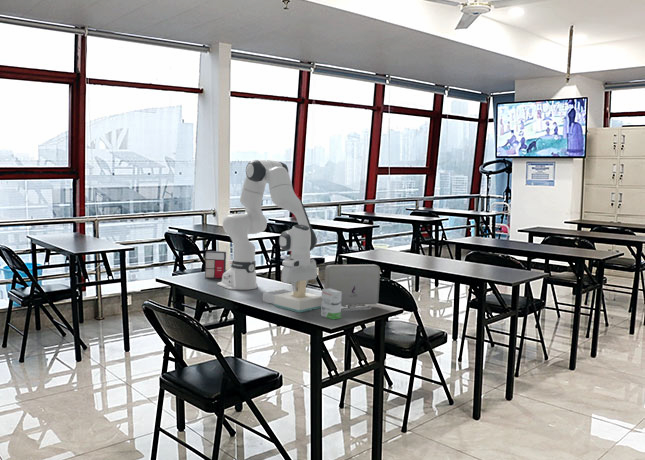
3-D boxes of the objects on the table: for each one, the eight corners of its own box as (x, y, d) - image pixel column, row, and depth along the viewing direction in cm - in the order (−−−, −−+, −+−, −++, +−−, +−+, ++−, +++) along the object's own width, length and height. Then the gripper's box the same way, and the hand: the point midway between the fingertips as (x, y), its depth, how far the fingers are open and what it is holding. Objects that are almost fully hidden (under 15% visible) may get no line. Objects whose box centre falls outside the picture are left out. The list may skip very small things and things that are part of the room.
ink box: (341, 318, 254) (342, 291, 253) (332, 319, 252) (333, 292, 250) (329, 314, 261) (330, 287, 260) (320, 315, 258) (321, 288, 257)
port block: (274, 306, 272) (274, 295, 272) (298, 301, 284) (298, 291, 284) (299, 312, 262) (299, 301, 261) (323, 307, 274) (323, 296, 273)
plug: (292, 301, 273) (293, 279, 272) (298, 300, 276) (299, 278, 275) (299, 302, 270) (300, 281, 269) (305, 301, 273) (306, 280, 272)
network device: (327, 311, 267) (329, 267, 265) (321, 306, 275) (323, 264, 273) (380, 309, 275) (382, 266, 273) (372, 304, 283) (374, 263, 281)
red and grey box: (204, 278, 334) (205, 251, 332) (206, 276, 338) (206, 250, 336) (224, 279, 333) (224, 252, 332) (225, 277, 338) (226, 251, 336)
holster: (262, 301, 282) (262, 292, 282) (283, 297, 292) (283, 289, 292) (274, 304, 277) (274, 295, 276) (295, 299, 287) (295, 291, 287)
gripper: (310, 257, 281) (309, 286, 282) (279, 261, 266) (278, 292, 267) (320, 259, 277) (319, 288, 278) (289, 263, 261) (288, 294, 263)
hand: (299, 290), depth 272 cm, fingers closed on plug, 4 cm apart
